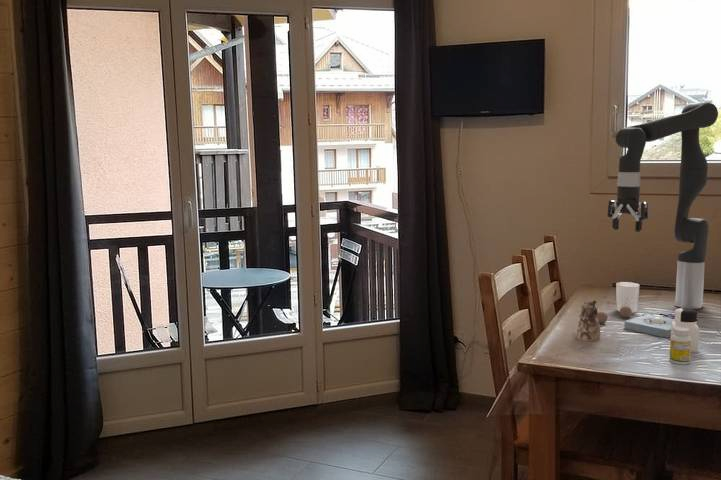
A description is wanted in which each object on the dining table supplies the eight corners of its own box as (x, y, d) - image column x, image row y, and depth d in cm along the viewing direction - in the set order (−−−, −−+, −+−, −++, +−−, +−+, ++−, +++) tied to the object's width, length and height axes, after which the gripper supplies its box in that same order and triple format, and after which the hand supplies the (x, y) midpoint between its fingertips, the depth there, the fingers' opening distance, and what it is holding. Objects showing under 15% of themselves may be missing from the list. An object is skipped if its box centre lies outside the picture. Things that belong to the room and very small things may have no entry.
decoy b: (599, 321, 250) (599, 309, 250) (609, 323, 247) (610, 311, 247) (592, 322, 248) (593, 311, 247) (602, 325, 245) (603, 313, 244)
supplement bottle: (686, 366, 200) (688, 332, 199) (666, 362, 204) (668, 329, 202) (692, 361, 204) (694, 328, 203) (672, 358, 208) (674, 325, 206)
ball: (654, 327, 242) (654, 315, 241) (666, 329, 239) (666, 317, 238) (648, 329, 239) (648, 317, 239) (659, 331, 236) (660, 319, 236)
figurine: (571, 336, 231) (573, 299, 229) (589, 334, 234) (591, 297, 232) (586, 342, 225) (588, 304, 223) (605, 339, 227) (606, 302, 226)
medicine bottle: (695, 346, 219) (697, 307, 218) (698, 352, 213) (700, 312, 211) (670, 344, 222) (672, 305, 220) (671, 350, 215) (674, 311, 213)
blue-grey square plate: (648, 321, 249) (648, 314, 249) (690, 329, 238) (691, 322, 238) (624, 328, 240) (624, 321, 240) (667, 337, 229) (667, 330, 228)
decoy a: (623, 315, 258) (623, 304, 257) (633, 317, 255) (634, 306, 254) (617, 317, 255) (617, 306, 255) (627, 319, 252) (628, 308, 252)
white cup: (639, 313, 260) (641, 286, 259) (616, 313, 261) (618, 286, 260) (636, 308, 268) (637, 282, 266) (613, 308, 269) (614, 281, 268)
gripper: (653, 185, 252) (651, 231, 254) (616, 183, 263) (614, 227, 265) (641, 186, 247) (639, 233, 249) (604, 184, 258) (602, 229, 260)
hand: (626, 230), depth 257 cm, fingers open, 8 cm apart
